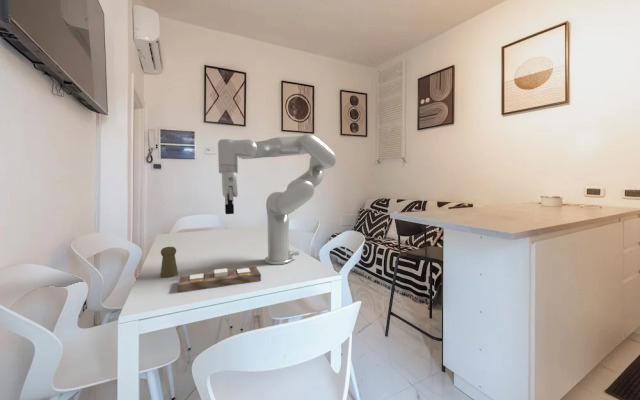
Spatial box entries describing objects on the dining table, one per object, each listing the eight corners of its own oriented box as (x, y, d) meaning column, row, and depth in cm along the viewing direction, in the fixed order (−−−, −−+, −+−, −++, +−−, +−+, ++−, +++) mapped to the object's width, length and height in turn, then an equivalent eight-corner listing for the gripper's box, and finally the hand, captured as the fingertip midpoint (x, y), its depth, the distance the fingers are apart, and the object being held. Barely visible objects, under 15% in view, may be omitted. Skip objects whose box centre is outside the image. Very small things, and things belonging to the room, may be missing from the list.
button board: (255, 272, 109) (255, 265, 109) (260, 280, 100) (260, 273, 100) (180, 282, 98) (180, 274, 98) (178, 292, 89) (178, 284, 89)
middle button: (226, 274, 102) (226, 268, 102) (227, 278, 98) (227, 271, 98) (214, 276, 100) (214, 269, 100) (214, 280, 96) (214, 273, 96)
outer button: (203, 280, 99) (203, 273, 99) (203, 284, 95) (203, 277, 95) (190, 281, 97) (190, 274, 97) (189, 286, 93) (189, 279, 93)
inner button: (248, 274, 105) (248, 267, 105) (250, 277, 101) (250, 271, 101) (236, 275, 103) (236, 269, 103) (238, 279, 99) (238, 272, 99)
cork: (160, 274, 107) (159, 246, 106) (177, 271, 110) (177, 244, 109) (160, 278, 102) (159, 249, 101) (178, 276, 105) (177, 248, 104)
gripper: (240, 169, 108) (242, 215, 109) (234, 170, 121) (235, 211, 122) (220, 169, 104) (222, 216, 106) (216, 170, 118) (218, 212, 119)
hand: (229, 213), depth 114 cm, fingers closed
